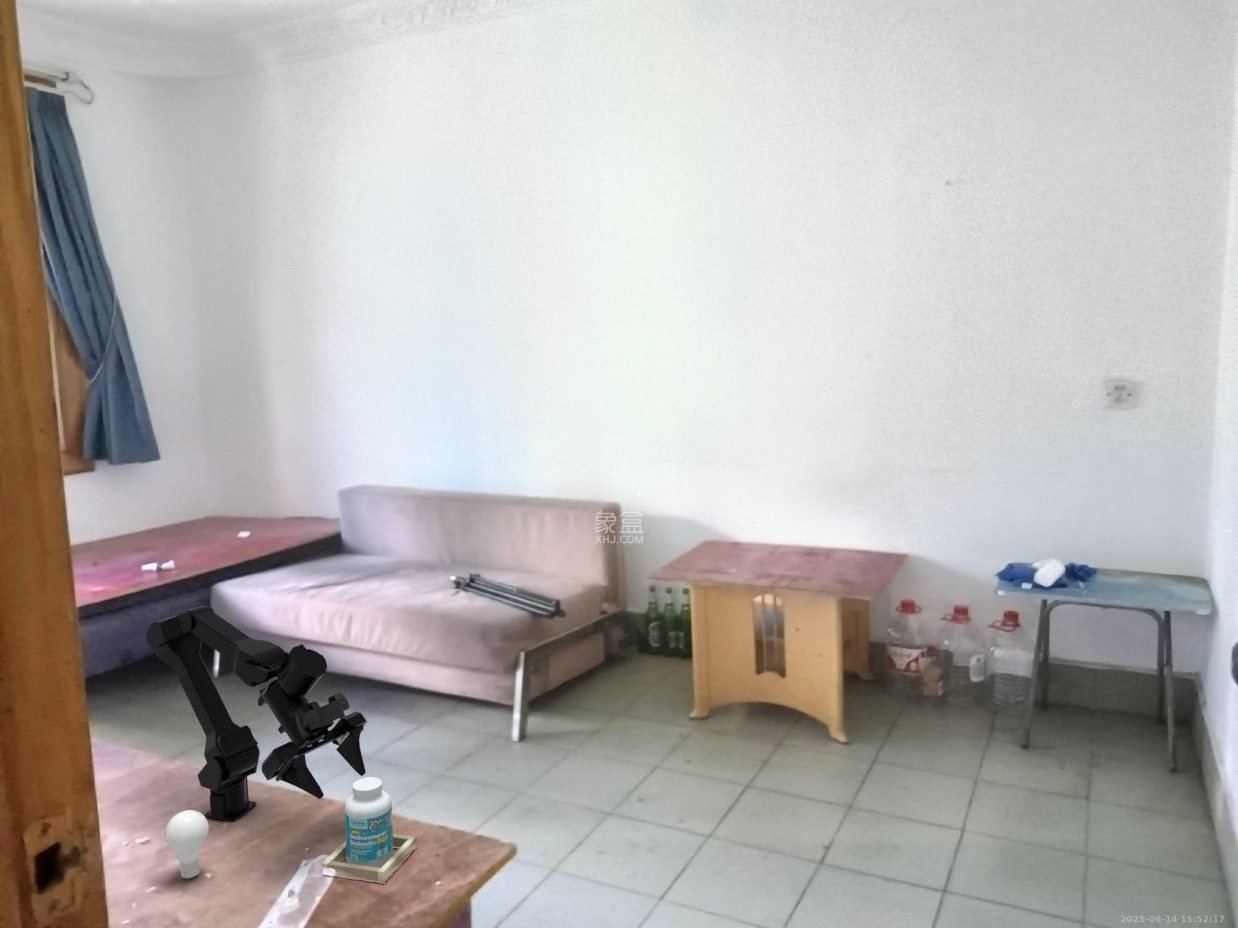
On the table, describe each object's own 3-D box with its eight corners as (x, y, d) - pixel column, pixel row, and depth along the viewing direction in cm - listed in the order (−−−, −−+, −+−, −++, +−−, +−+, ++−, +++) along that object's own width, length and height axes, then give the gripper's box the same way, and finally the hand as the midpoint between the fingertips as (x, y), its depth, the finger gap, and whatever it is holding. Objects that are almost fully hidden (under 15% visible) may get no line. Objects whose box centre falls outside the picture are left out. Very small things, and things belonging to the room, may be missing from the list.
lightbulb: (170, 870, 150) (165, 806, 148) (213, 862, 152) (208, 799, 151) (166, 891, 144) (161, 825, 143) (211, 883, 146) (206, 817, 145)
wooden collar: (358, 839, 158) (358, 829, 158) (416, 847, 155) (416, 836, 155) (322, 874, 148) (321, 863, 148) (383, 884, 145) (383, 872, 145)
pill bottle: (346, 877, 147) (342, 796, 146) (347, 853, 154) (343, 776, 153) (394, 869, 149) (391, 790, 147) (393, 846, 156) (389, 770, 155)
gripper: (268, 701, 146) (321, 782, 141) (356, 666, 162) (406, 738, 157) (239, 740, 150) (289, 819, 146) (327, 702, 166) (375, 772, 162)
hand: (343, 785), depth 153 cm, fingers open, 9 cm apart
